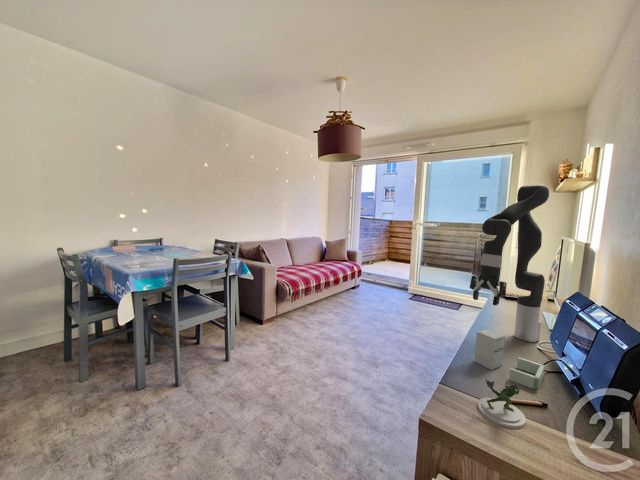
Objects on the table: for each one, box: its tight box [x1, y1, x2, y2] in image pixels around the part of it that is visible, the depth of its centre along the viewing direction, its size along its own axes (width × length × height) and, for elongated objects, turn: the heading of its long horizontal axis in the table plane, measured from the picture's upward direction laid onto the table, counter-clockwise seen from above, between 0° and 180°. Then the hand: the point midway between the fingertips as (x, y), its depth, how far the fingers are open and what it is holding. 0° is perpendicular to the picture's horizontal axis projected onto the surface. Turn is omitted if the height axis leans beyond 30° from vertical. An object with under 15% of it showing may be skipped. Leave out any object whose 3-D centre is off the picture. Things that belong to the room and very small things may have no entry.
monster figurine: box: [477, 378, 527, 429], centre depth 82 cm, size 12×12×10 cm
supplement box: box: [473, 329, 506, 371], centre depth 110 cm, size 7×7×13 cm
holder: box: [508, 356, 546, 391], centre depth 101 cm, size 8×13×4 cm, turn 134°
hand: (484, 302), depth 118 cm, fingers open, 8 cm apart
